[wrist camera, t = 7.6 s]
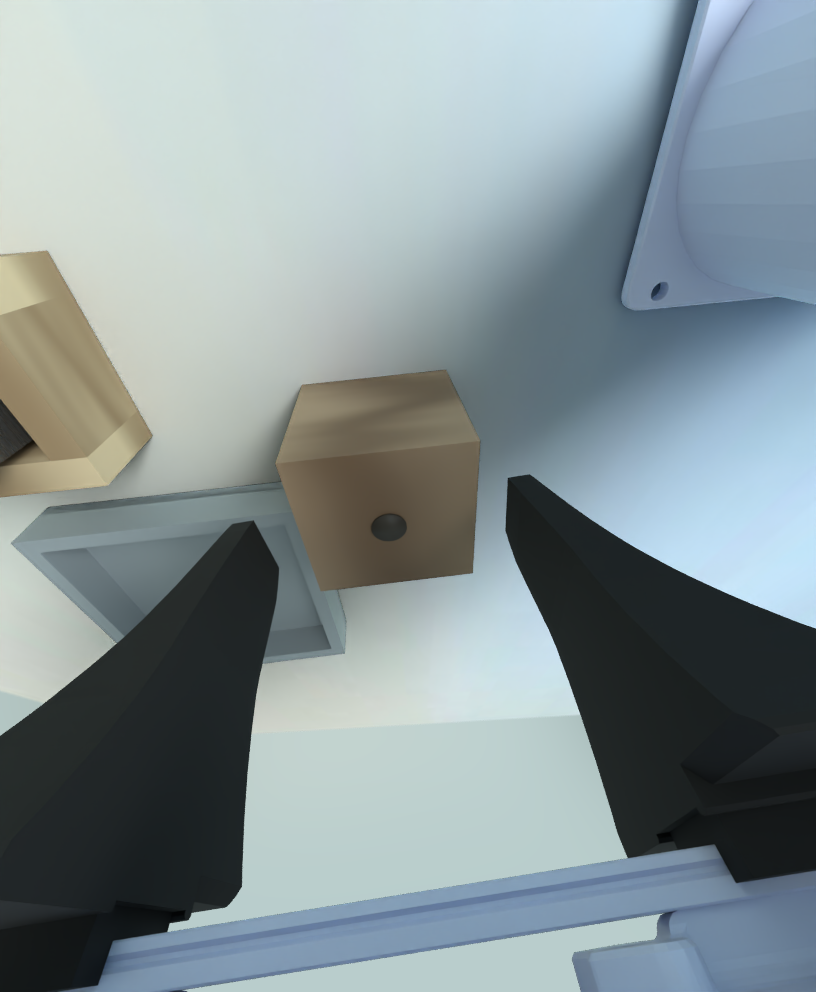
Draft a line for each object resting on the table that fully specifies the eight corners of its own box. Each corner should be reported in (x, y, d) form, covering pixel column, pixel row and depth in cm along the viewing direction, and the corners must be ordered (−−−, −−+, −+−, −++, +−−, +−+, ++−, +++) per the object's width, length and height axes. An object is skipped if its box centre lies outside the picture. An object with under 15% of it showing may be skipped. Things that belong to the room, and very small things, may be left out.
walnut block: (445, 369, 13) (481, 442, 9) (446, 483, 16) (473, 575, 12) (302, 384, 13) (274, 465, 9) (331, 496, 16) (320, 593, 12)
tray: (303, 479, 15) (296, 511, 14) (346, 620, 21) (344, 653, 20) (47, 507, 15) (10, 543, 13) (168, 642, 21) (152, 677, 20)
